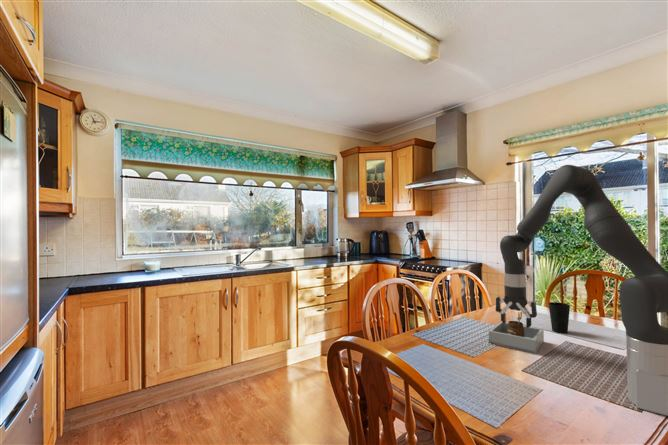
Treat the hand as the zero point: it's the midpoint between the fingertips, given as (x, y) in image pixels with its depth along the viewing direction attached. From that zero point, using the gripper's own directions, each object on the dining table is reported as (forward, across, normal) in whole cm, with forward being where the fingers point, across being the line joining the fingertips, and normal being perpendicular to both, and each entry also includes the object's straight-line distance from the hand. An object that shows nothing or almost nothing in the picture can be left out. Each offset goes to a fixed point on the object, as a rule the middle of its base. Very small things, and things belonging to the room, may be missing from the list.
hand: (515, 325), depth 125 cm
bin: (+7, 0, 0) cm, 7 cm away
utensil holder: (+6, 0, 0) cm, 6 cm away
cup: (+7, +11, +27) cm, 30 cm away
